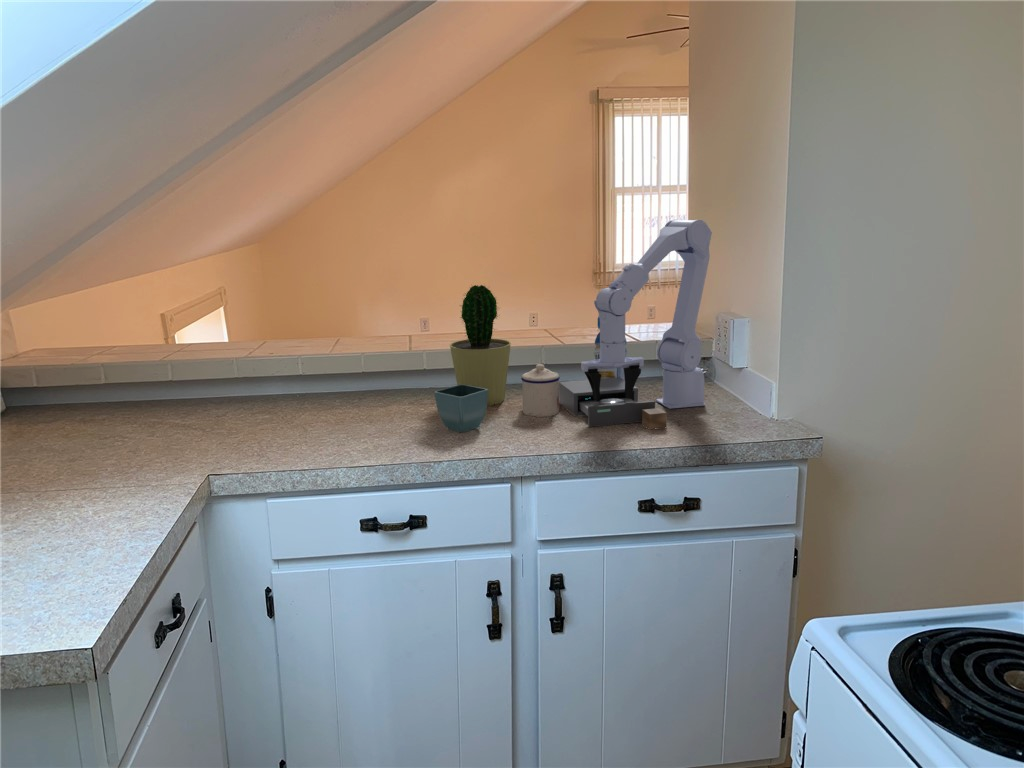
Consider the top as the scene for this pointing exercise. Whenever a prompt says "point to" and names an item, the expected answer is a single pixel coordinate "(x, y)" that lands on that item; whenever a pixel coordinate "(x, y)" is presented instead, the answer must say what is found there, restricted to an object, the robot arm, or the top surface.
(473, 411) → the flower pot
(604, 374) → the beverage bottle
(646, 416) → the walnut block
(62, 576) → the top surface
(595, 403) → the tray
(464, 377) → the potted cactus
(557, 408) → the cream lidded canister
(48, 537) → the top surface
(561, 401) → the grey drawer box
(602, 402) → the disc
